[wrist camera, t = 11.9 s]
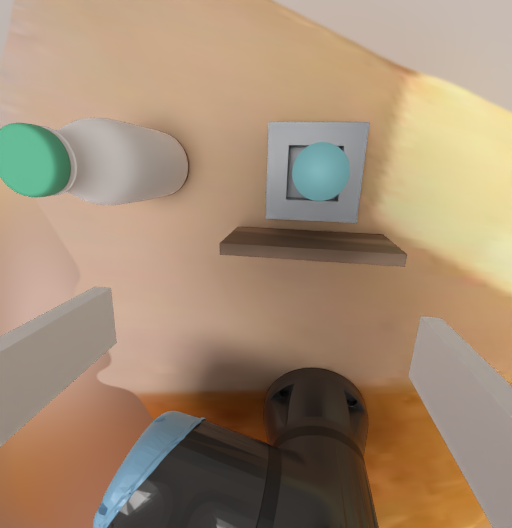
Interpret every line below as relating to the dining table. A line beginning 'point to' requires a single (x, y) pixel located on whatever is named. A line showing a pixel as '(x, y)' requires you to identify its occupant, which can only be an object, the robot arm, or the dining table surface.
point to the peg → (320, 171)
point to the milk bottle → (92, 161)
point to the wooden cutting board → (313, 246)
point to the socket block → (282, 160)
